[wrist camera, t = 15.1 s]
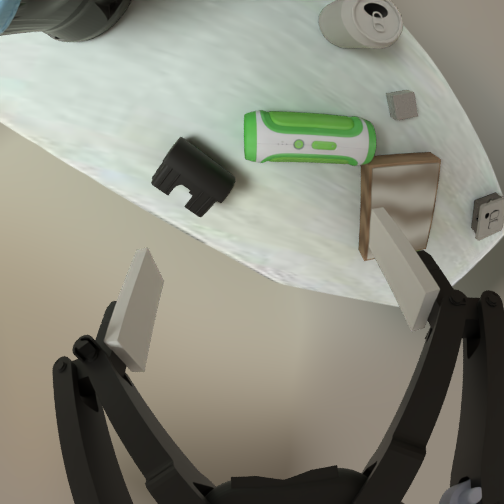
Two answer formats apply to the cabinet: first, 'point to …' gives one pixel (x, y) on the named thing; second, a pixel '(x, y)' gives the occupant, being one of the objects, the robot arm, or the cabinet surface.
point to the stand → (400, 195)
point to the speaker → (308, 138)
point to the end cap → (193, 176)
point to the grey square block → (402, 104)
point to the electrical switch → (488, 215)
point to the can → (361, 23)
